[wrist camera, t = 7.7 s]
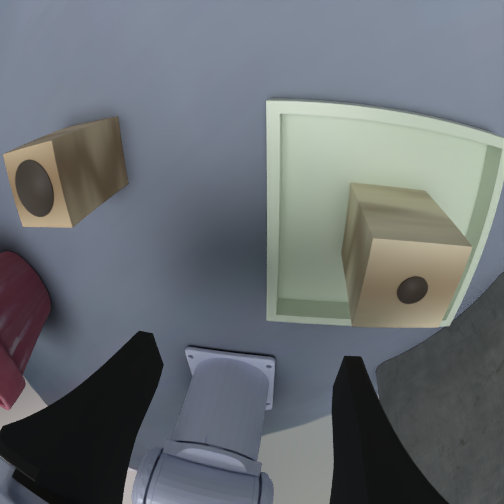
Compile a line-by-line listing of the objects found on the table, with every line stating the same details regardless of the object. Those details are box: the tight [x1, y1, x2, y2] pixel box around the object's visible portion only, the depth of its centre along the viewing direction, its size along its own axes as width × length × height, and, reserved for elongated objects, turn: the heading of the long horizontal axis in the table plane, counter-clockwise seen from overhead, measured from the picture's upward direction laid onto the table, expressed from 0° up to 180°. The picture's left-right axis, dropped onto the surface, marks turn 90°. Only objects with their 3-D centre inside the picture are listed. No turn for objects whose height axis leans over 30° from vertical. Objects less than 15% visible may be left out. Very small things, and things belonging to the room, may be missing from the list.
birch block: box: [341, 182, 472, 328], centre depth 13 cm, size 4×4×6 cm
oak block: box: [3, 116, 128, 228], centre depth 14 cm, size 4×4×6 cm
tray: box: [266, 98, 504, 327], centre depth 16 cm, size 13×13×2 cm
